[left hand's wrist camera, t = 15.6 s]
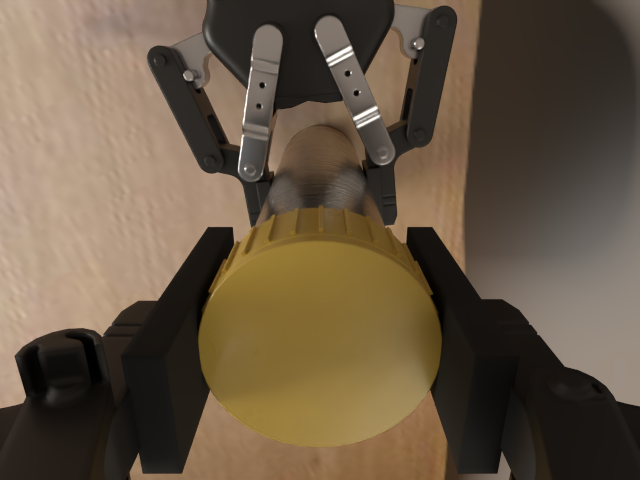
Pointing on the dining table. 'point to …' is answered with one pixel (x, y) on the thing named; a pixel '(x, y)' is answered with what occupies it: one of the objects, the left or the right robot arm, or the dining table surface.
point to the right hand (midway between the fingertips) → (326, 236)
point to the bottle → (319, 177)
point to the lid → (320, 329)
